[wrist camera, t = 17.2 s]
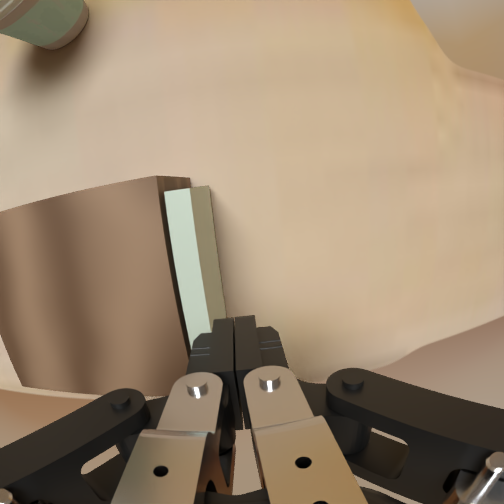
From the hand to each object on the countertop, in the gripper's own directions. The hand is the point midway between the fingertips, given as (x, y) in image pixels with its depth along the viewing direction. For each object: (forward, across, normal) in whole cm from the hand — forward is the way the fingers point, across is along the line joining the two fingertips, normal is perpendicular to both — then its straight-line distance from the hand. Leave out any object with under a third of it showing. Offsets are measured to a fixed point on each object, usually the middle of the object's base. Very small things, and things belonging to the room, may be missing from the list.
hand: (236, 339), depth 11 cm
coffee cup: (+14, +14, -24) cm, 32 cm away
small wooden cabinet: (+14, +9, 0) cm, 17 cm away
